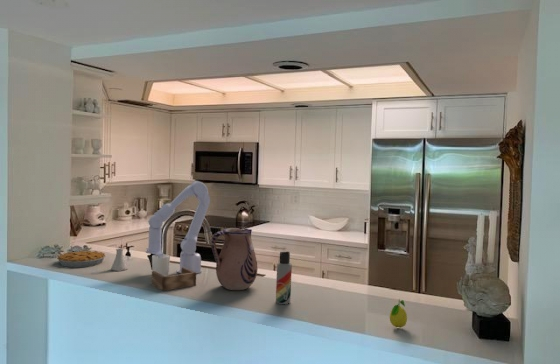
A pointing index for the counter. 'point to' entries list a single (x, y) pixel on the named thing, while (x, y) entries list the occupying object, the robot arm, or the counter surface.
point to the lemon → (398, 315)
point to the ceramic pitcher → (235, 259)
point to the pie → (81, 258)
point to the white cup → (161, 264)
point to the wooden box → (174, 280)
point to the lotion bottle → (283, 279)
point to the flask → (119, 261)
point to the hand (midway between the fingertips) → (154, 270)
